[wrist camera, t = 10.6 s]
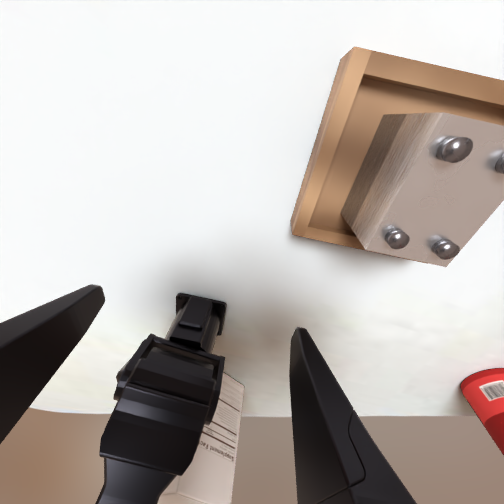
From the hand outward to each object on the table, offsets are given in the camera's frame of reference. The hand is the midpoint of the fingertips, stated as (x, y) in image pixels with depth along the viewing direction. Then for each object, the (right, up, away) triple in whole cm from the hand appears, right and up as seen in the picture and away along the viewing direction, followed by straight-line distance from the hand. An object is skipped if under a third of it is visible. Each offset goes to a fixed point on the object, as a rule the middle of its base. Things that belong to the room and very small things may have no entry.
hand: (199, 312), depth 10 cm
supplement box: (-5, -21, +30) cm, 36 cm away
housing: (+13, +8, +6) cm, 17 cm away
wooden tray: (+13, +10, +8) cm, 18 cm away
